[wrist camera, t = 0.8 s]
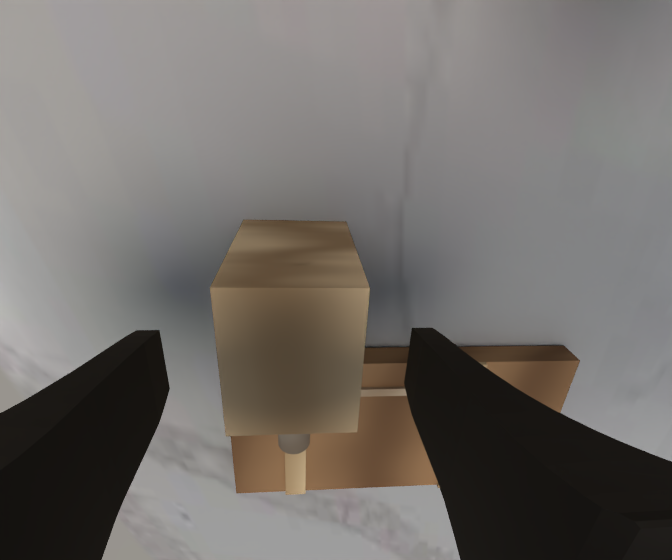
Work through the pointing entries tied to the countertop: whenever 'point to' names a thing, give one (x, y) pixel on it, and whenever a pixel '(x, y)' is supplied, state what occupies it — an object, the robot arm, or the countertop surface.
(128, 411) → the robot arm
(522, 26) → the countertop surface
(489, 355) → the walnut board
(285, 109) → the countertop surface
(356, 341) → the pale wood holed block
